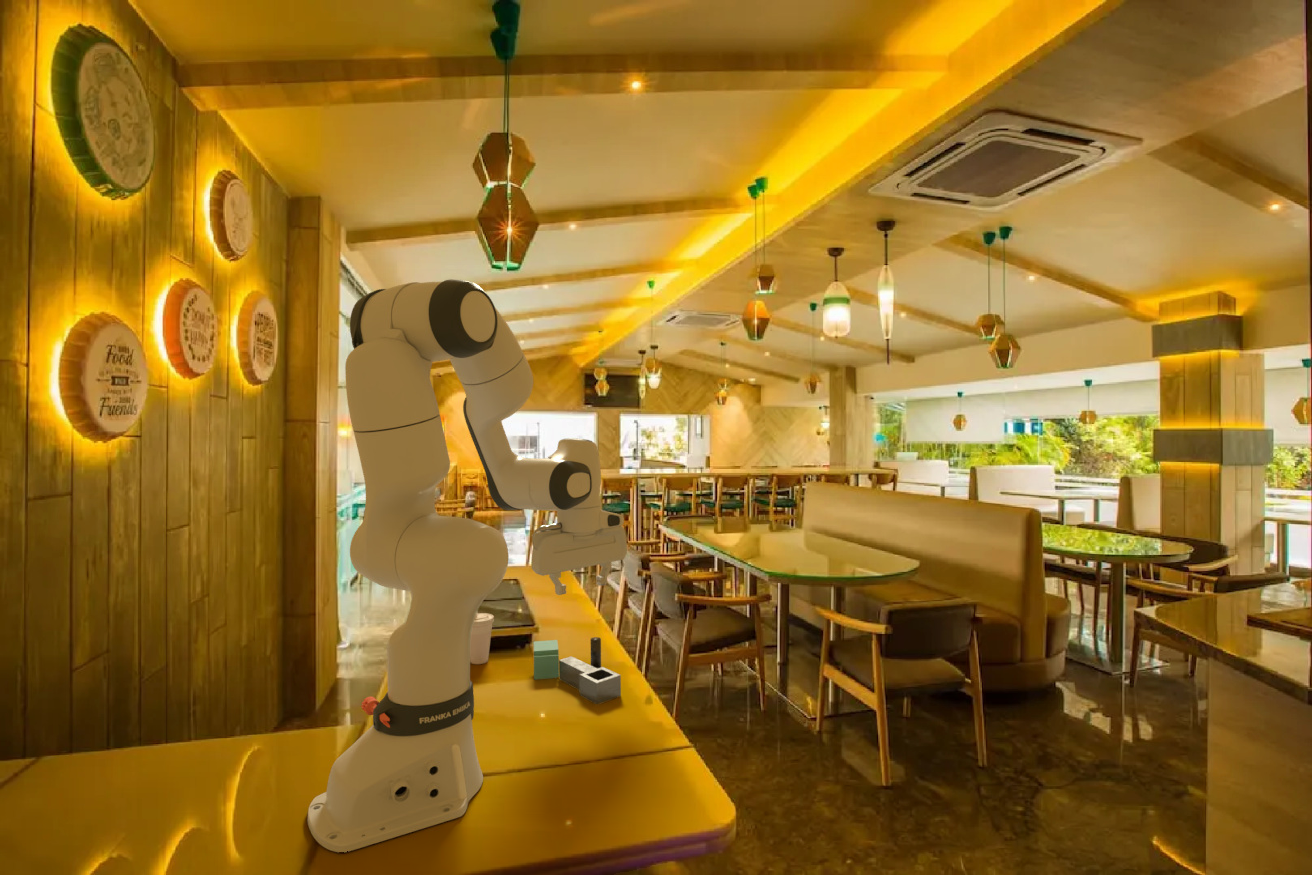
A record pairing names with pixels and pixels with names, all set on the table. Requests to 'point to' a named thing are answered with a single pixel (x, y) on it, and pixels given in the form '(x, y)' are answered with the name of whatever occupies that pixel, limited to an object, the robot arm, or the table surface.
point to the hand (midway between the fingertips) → (581, 589)
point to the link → (590, 680)
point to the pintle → (596, 652)
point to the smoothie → (481, 638)
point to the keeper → (546, 659)
